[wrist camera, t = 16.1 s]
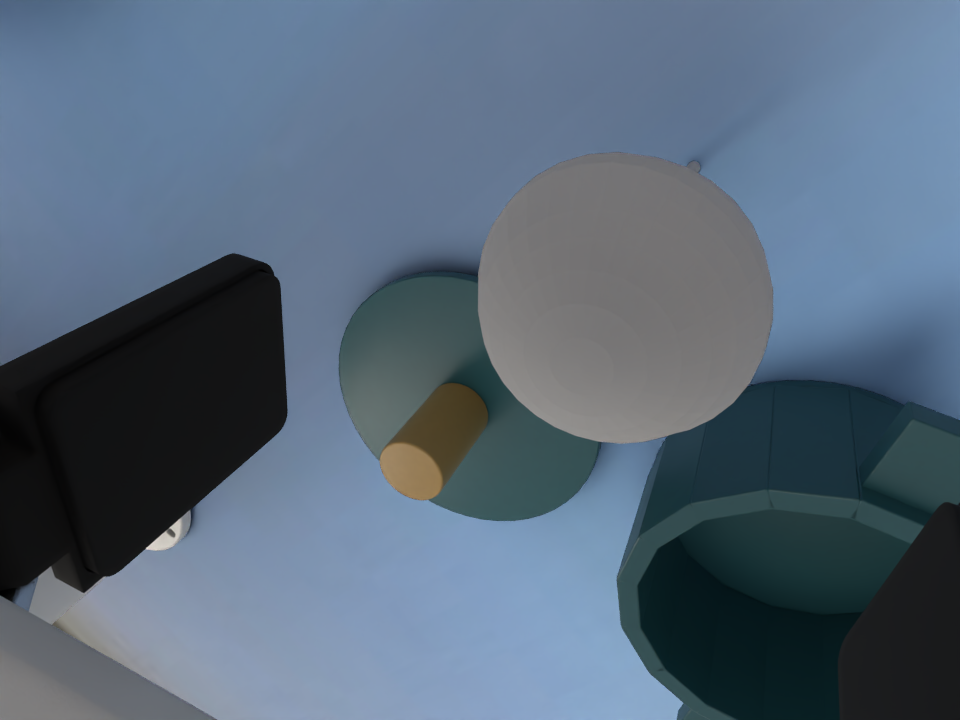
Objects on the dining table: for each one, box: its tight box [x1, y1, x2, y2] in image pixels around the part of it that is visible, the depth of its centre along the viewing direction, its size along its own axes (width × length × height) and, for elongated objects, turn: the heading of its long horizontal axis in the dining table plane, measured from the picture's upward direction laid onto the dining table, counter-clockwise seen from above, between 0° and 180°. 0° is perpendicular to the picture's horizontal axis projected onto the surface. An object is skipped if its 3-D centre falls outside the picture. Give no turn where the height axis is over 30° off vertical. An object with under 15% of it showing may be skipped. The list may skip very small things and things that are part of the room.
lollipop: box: [478, 152, 773, 444], centre depth 17 cm, size 6×6×15 cm
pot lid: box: [339, 271, 601, 521], centre depth 30 cm, size 14×14×6 cm
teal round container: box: [617, 381, 960, 720], centre depth 25 cm, size 13×18×7 cm
